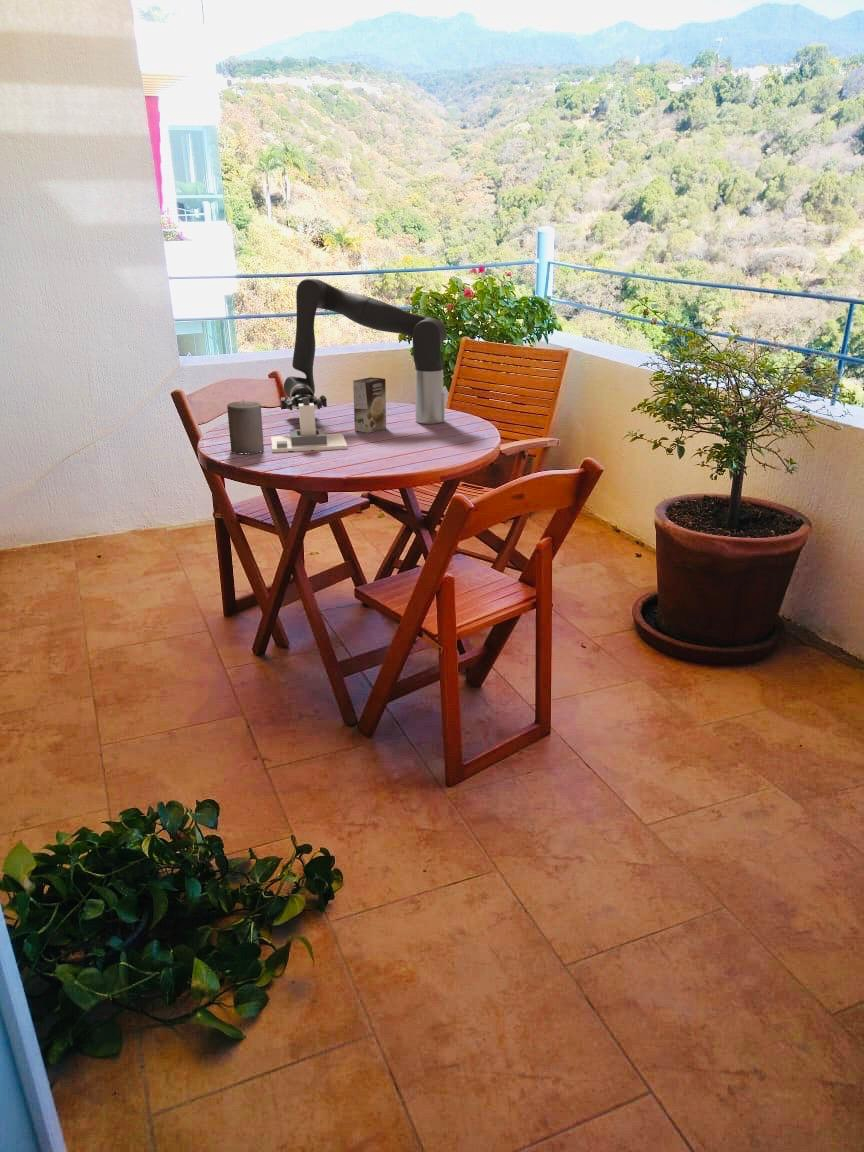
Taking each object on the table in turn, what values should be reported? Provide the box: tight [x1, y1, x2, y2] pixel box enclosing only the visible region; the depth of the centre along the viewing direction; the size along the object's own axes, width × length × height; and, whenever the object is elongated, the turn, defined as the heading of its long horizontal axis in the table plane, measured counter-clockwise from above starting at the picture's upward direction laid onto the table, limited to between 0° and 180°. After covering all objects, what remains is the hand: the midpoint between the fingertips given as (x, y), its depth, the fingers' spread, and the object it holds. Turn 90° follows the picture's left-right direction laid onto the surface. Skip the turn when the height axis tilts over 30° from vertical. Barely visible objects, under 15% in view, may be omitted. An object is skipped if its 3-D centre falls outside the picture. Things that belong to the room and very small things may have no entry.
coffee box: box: [352, 376, 387, 434], centre depth 268 cm, size 9×6×16 cm
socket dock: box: [270, 427, 348, 453], centre depth 252 cm, size 22×16×4 cm
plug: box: [298, 397, 317, 435], centre depth 250 cm, size 4×4×13 cm
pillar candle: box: [226, 400, 265, 455], centre depth 243 cm, size 10×10×15 cm
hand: (305, 406), depth 258 cm, fingers open, 8 cm apart
